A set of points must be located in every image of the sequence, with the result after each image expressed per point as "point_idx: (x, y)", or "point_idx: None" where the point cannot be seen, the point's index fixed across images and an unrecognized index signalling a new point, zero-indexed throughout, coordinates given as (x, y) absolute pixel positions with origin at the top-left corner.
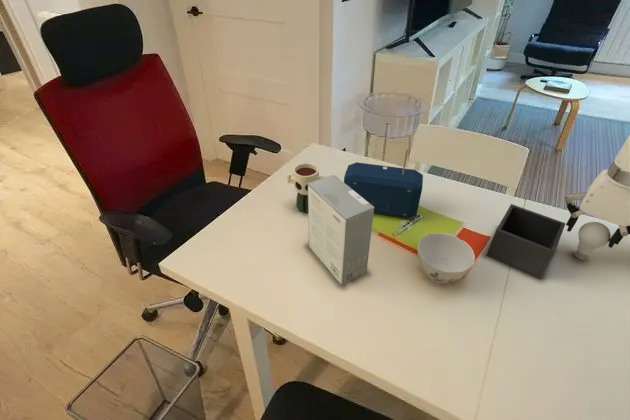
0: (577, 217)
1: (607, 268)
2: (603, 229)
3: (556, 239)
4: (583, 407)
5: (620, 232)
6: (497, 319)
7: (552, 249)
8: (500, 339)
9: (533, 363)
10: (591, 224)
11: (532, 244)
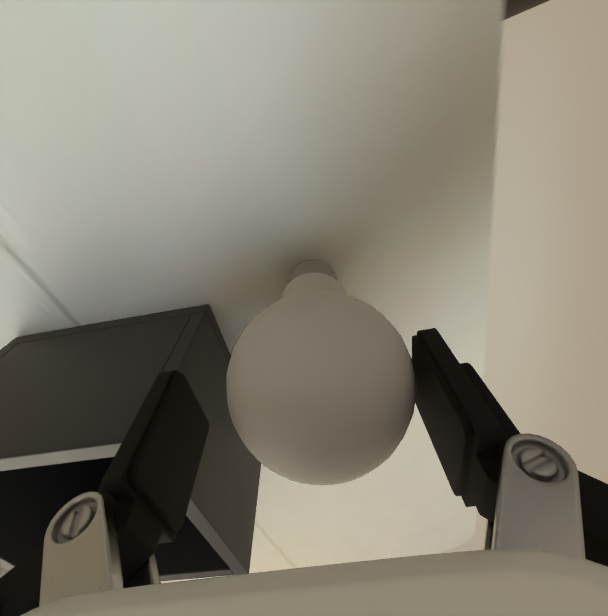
0: (158, 514)
1: (423, 249)
2: (360, 473)
3: (208, 537)
4: (423, 554)
5: (486, 526)
6: (264, 534)
7: (233, 570)
8: (290, 549)
9: (347, 549)
10: (270, 466)
11: (173, 579)
